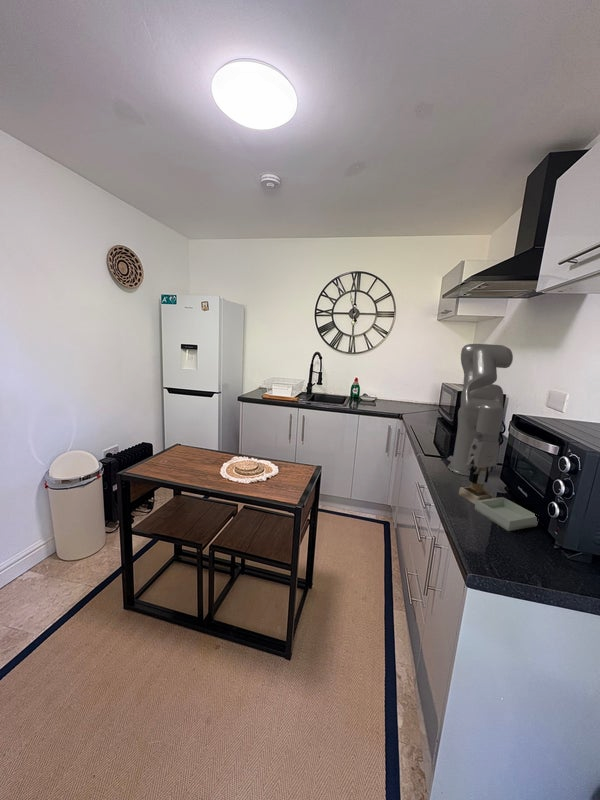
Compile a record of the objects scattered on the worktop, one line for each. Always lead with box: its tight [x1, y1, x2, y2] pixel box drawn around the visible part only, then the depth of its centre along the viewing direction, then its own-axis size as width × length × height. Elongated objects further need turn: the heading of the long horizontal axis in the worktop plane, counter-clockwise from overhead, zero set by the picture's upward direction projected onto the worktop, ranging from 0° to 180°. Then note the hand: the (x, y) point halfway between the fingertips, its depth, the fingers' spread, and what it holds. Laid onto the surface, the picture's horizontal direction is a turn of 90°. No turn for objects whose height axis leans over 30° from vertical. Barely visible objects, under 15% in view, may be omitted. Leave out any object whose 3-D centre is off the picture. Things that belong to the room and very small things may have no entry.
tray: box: [474, 496, 539, 532], centre depth 107 cm, size 13×13×4 cm
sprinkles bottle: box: [469, 466, 487, 491], centre depth 118 cm, size 5×5×14 cm
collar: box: [458, 485, 495, 505], centre depth 119 cm, size 8×8×3 cm
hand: (477, 481), depth 119 cm, fingers closed on sprinkles bottle, 4 cm apart
